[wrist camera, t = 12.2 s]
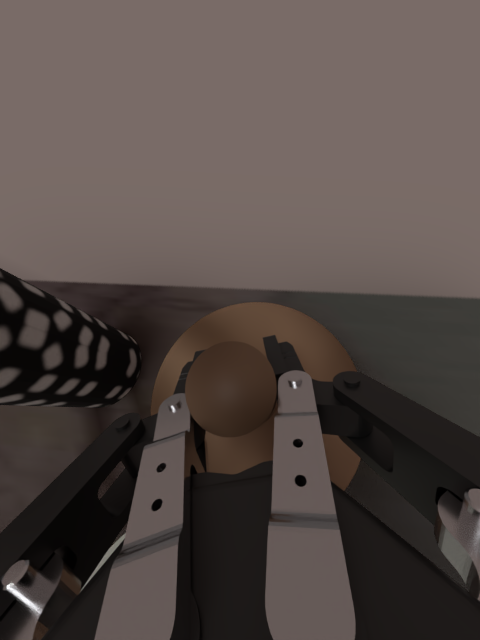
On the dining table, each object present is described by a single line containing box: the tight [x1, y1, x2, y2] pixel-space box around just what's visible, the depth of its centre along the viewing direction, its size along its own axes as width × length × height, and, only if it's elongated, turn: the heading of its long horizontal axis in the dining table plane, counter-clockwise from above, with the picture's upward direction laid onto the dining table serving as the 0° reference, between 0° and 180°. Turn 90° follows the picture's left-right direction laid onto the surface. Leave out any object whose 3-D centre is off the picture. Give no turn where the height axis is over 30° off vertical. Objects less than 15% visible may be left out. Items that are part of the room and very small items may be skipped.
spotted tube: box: [0, 269, 141, 408], centre depth 17 cm, size 8×8×20 cm
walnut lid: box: [151, 302, 361, 491], centre depth 12 cm, size 14×14×9 cm
